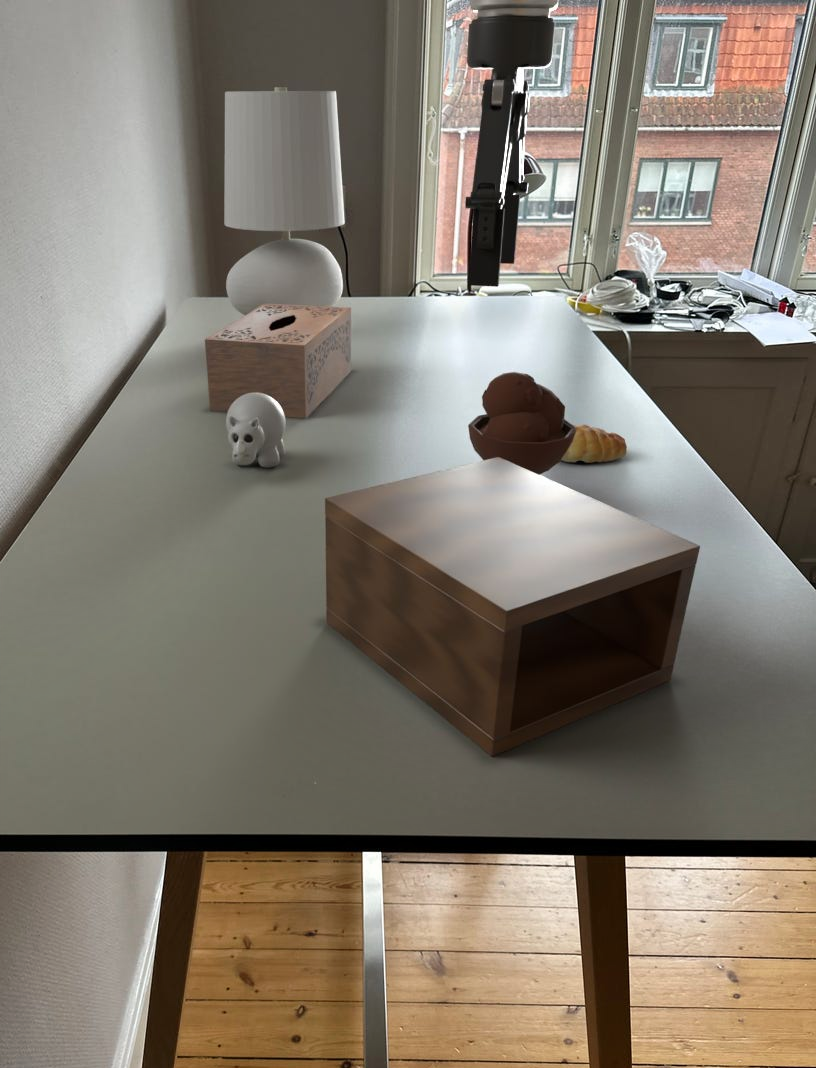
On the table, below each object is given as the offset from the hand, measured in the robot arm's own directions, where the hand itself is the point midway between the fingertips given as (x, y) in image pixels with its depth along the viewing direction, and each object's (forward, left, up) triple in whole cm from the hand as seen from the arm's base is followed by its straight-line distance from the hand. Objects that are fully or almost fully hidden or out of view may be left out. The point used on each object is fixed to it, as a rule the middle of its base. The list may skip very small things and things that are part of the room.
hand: (492, 273), depth 91 cm
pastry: (+4, -20, -24) cm, 31 cm away
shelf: (-26, +20, -24) cm, 41 cm away
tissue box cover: (+50, -3, -24) cm, 55 cm away
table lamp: (+84, -22, -24) cm, 90 cm away
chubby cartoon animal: (+22, +17, -24) cm, 36 cm away
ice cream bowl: (-5, -1, -24) cm, 24 cm away
